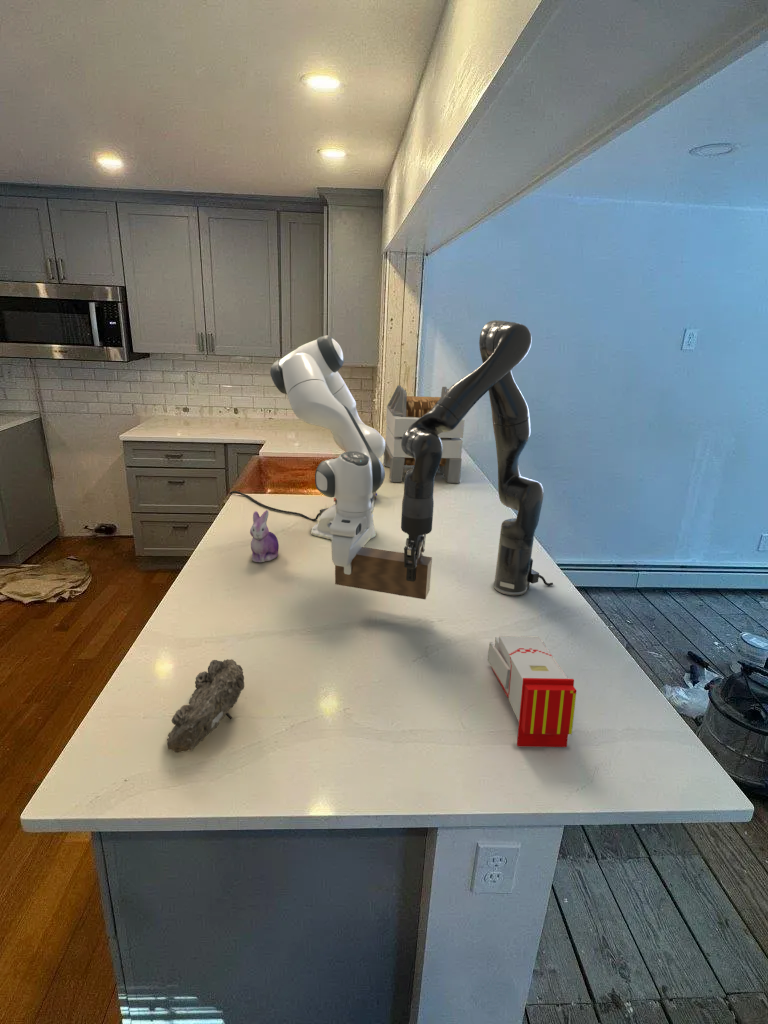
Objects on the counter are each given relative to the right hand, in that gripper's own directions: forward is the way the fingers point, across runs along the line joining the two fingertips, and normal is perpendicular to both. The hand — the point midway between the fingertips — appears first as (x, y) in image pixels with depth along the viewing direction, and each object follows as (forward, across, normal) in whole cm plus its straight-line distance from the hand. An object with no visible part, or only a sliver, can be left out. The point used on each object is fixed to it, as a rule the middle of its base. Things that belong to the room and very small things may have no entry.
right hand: (413, 575), depth 142 cm
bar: (+5, 0, +8) cm, 9 cm away
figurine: (+12, +20, +52) cm, 57 cm away
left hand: (+1, 0, +16) cm, 16 cm away
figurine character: (+12, +87, +39) cm, 96 cm away
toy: (+12, -24, -29) cm, 40 cm away
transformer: (+13, +135, +28) cm, 138 cm away
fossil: (+12, -49, +27) cm, 57 cm away
